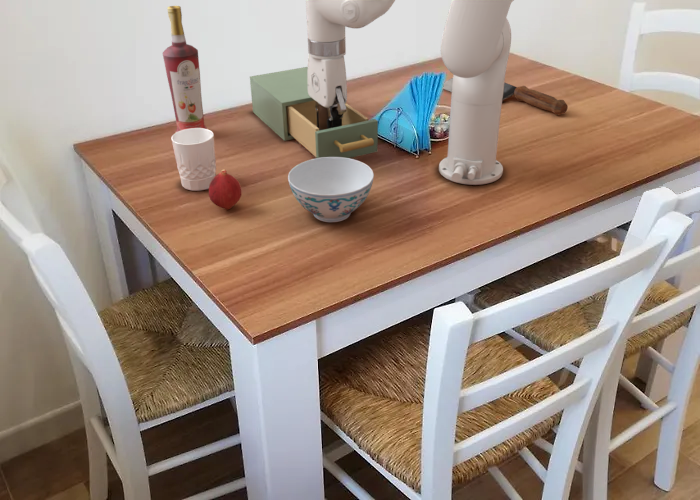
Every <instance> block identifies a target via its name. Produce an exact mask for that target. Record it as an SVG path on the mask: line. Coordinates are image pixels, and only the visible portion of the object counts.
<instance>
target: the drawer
mask: <svg viewBox="0 0 700 500" xmlns="http://www.w3.org/2000/svg"><path fill="white" fill-rule="evenodd" d="M315 104H316V101H309V102H304V103H299V104H294V105H288V106H286V115H287V131H288V133H289V134H290V135H292V136H293V137H294V138H295V139H294V140H296V141H297V142H298V143H299V144H300V145H302V147H304V148H305V149H306V150H307V151H308V152H309V153H311V155H313V156H314V157H315V159H316V158H323V157H343V158H350V159H353V158H357V157H361V156H364V155H368V154H374V153H377V152H378V147H379V146H378V144H379V141H378V139H379V136H378V135H379V134H378V133H379V131H378V130H379V121H378V119H376V118H373V119H369V118H368V117H367V116H366V115H365V114H363V113H361V112H360V111H358V110H357V109H356V108H354V107H352V106H351V105H349V104H348V103H347V102H346V103H345V105H346V112H345V113H344V114H343V118H342V126H339V127H334V128H329V129H325V130H320V131H319V128H318V127H317V115H316V111H317V110H316V108H315Z"/></svg>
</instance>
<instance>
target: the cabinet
mask: <svg viewBox="0 0 700 500" xmlns="http://www.w3.org/2000/svg"><path fill="white" fill-rule="evenodd" d="M307 70H308V66H303V67H298V68H292V69H286V70H281V71H280V70H279V71H275V72H269V73H263V74H257V75H251V76H249V84H250V94H251V106H252V113H254V114H255V115H256V116H257V117H258V118H259V119H260V120H261V121H262V122H263V123H264V124H265V125H266V126H267V127H269V128H270V129H271V130H272V131H273V132H274V133H275V134H276V135H277V136H278V137H280V138H281V139H282V141H284V142H285V141H291V140H296V139H295V138H294V137H293V136H292V135H290V134H289V133H288V131H287V115H286V106H288V105H294V104H299V103H304V102H309V101H315V100H314V99H313V98H311V97H310V96H309V94H308V84H307Z"/></svg>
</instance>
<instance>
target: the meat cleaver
mask: <svg viewBox="0 0 700 500" xmlns="http://www.w3.org/2000/svg"><path fill="white" fill-rule="evenodd" d="M444 82H445V83H444ZM444 82H443V83H444V87H443V88H442V89H443V90H445V91H448V92H450V93H452V83H453V77H451V78H450V79H448V80H446V81H444ZM512 96H514V97H515V99H516V100H517V101H519V102H525V103H526V104H528V105H530V106H533V107H535V108H538V109H541V110H543V111H546V112H553V113H554V114H555V115H556V116H561V115H564V114H566V113H567V110H568V104H567V102H566V101H565V100H564V99H557V98H556V97H554V96H552V95H549V94H547V93H544V92H541V91H538V90H535V89H531V88H528V87H527V86H526V85H521V86H515V85H512V84H510V83H508V82H505V81H504V90H503V98H502V101H504V100H506V99H508V98H510V97H512Z"/></svg>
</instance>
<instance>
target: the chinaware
mask: <svg viewBox="0 0 700 500" xmlns="http://www.w3.org/2000/svg"><path fill="white" fill-rule="evenodd" d="M374 177H375V174H374V170H373V169H372V167H370V166H369V165H368V164H366V163H364V162H362V161H360V160H358V159H354V158H343V157H323V158H316V157H315V158H312V159H308V160H305V161H302V162H300V163H298V164H296V165H295V166H294V167H293V168H291V169H290V170H289V172H288V175H287V180H288V184H289V187H290V190H291V193H292V195H293V196H294V198H295V199H296V201H297V202H298V203H299V204H300V206H301V207H302V208H304V209H305V210H306V211H308V212H309V213H311V214H313V216H314V218H315V219H317V220H319V221H321V222H325V223H338V222H342V221H344V220H347V219H348V218H349V217H350V216H351V213H353V212H355V211H356V210H357V209H358V208H359V207H361V205H363V204H364V203H365V201H366V199H367V198H368V196H369V194H370V192H371V189H372V187H373V183H374Z"/></svg>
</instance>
